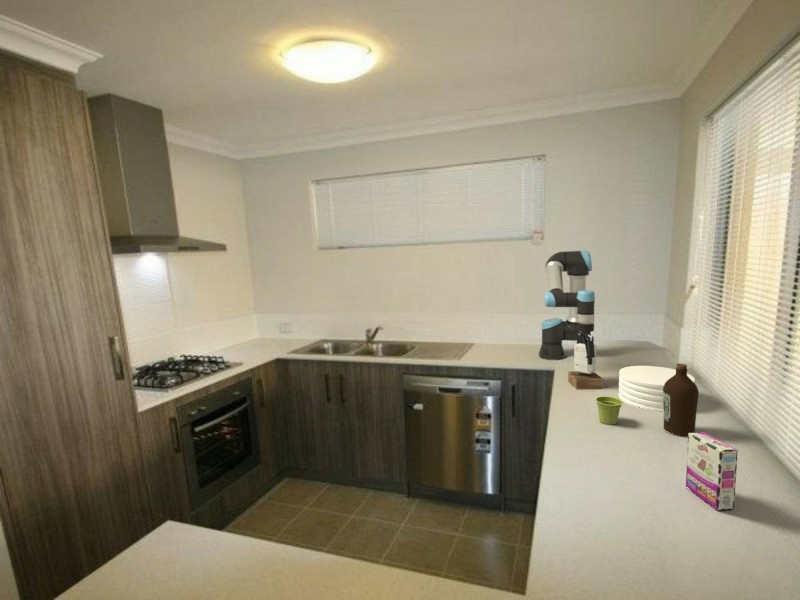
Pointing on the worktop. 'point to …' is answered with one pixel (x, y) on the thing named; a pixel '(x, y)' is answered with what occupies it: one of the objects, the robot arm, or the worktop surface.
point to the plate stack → (644, 385)
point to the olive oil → (680, 403)
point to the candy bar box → (711, 470)
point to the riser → (585, 380)
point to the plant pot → (608, 409)
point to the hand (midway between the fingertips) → (584, 367)
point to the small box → (582, 359)
